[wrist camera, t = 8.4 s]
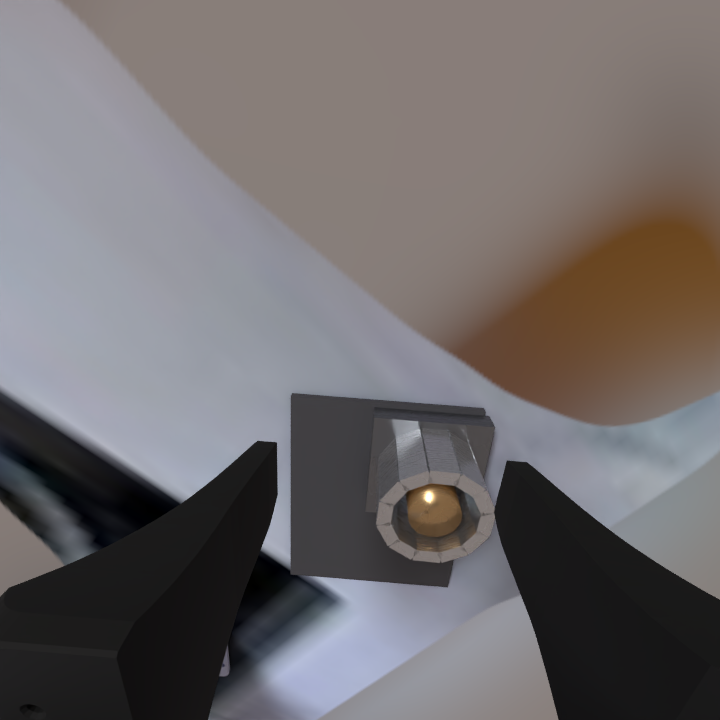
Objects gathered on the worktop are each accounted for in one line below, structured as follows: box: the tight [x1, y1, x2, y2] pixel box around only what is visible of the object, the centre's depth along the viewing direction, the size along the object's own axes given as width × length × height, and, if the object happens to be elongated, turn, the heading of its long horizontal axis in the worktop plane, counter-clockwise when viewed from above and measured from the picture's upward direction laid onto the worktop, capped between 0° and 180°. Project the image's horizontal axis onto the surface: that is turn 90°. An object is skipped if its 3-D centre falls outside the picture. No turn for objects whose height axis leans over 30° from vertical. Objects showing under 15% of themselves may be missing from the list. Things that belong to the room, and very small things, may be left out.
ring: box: [376, 428, 495, 563], centre depth 20 cm, size 6×6×4 cm
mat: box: [291, 393, 485, 587], centre depth 25 cm, size 14×11×1 cm
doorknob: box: [365, 407, 495, 537], centre depth 21 cm, size 6×6×5 cm
